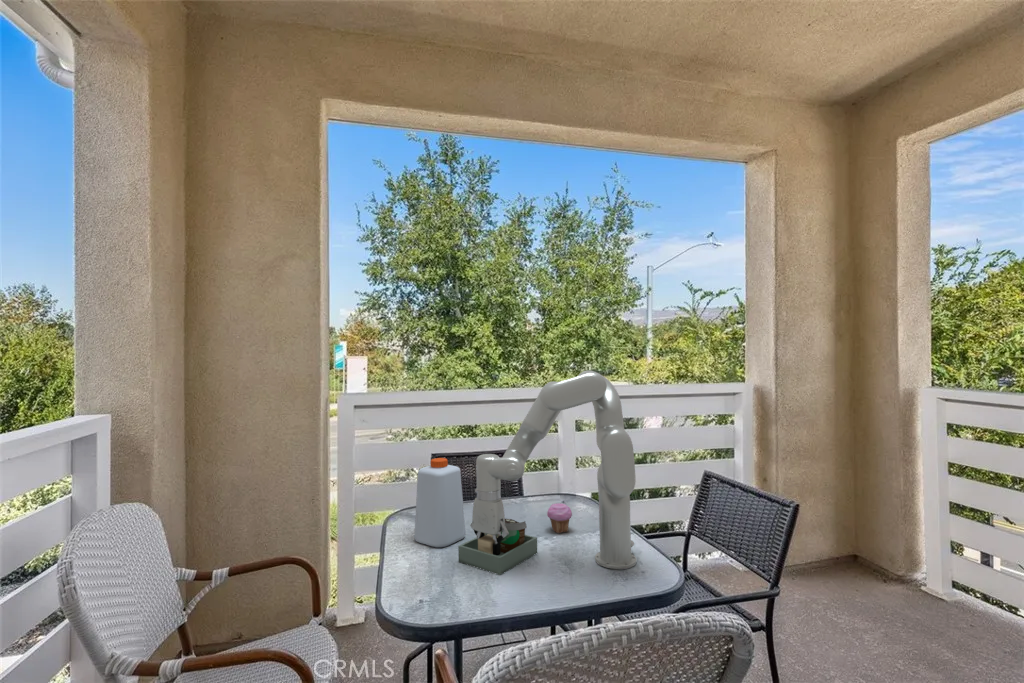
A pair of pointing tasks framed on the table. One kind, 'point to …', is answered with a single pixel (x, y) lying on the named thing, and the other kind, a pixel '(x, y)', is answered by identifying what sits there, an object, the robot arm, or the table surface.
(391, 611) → the table surface
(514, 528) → the food container
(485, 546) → the maple block
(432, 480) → the plastic bottle
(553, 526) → the cupcake
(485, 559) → the tote
